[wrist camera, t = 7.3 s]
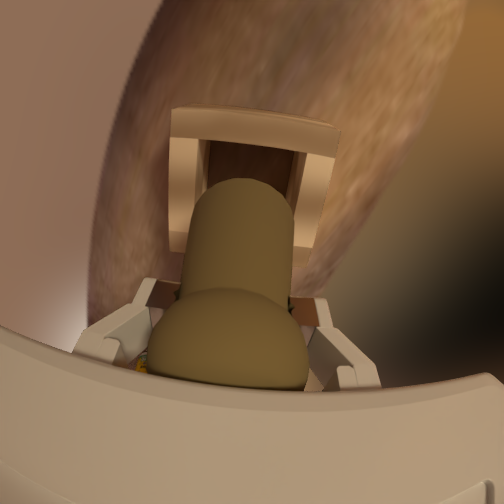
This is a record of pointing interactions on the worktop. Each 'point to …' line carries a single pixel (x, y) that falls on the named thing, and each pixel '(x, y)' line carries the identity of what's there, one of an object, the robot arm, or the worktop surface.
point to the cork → (234, 296)
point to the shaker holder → (257, 133)
